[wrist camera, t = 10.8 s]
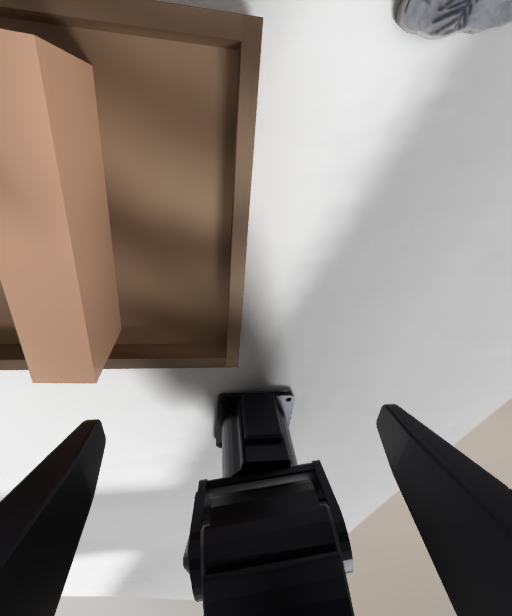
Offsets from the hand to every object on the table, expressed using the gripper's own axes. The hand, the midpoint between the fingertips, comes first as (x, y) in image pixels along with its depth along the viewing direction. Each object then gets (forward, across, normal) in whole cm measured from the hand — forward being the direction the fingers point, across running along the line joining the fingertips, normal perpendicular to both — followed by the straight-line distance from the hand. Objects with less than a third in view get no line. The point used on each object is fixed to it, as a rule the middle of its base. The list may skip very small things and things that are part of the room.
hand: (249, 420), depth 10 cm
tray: (+12, +8, -3) cm, 15 cm away
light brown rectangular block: (+11, +8, -3) cm, 14 cm away
